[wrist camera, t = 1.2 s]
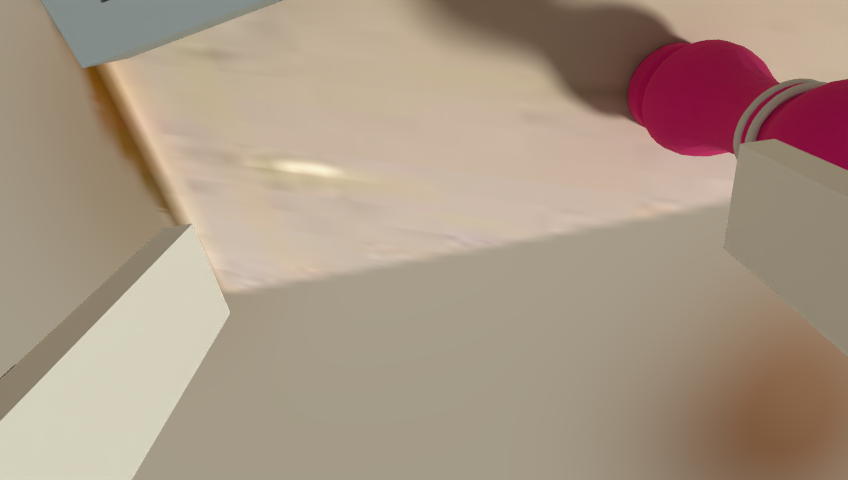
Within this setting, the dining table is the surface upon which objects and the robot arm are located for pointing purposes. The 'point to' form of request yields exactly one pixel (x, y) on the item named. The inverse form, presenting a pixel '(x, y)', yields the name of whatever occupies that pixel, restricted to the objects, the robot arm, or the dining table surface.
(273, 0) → the socket block
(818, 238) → the robot arm
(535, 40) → the dining table surface
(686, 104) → the pepper mill
